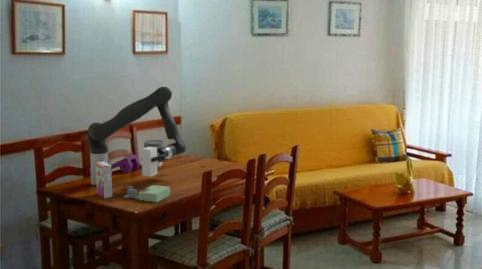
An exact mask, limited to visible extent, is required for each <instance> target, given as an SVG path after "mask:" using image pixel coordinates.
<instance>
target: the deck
mask: <svg viewBox="0 0 482 269" xmlns="http://www.w3.org/2000/svg"><path fill="white" fill-rule="evenodd" d="M168 196H171V186H164V185H163V186H162V185H153V184H152V185H150V186H148V187H146V188H144V189H142V190H140V191H138V189H134V186H133V185H129V186H127V187H126V194H125V195H122V197H123V199H129V198H132V199H131V200H138V199H139V200H138V201H142V200H144V202H145V201H146V202H151V201H152V202H153V203H158V202H159V201H161V200H163V199H166V198H167V197H168ZM152 202H151V203H152Z"/></svg>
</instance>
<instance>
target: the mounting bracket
mask: <svg viewBox="0 0 482 269" xmlns="http://www.w3.org/2000/svg"><path fill="white" fill-rule="evenodd" d="M110 165H111V168H112V169H116V168H118V167H119V169H120V171H121V172H122V173H125V174H128V173H131V171H137V170H139V168H140V165H141V163H140V160H139V157H138V155H137V154H134V155H130V156H129V155H128V156H126V157H125V158H123V159H120V160H118V161H116V162H114V163H112V164H110Z"/></svg>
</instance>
